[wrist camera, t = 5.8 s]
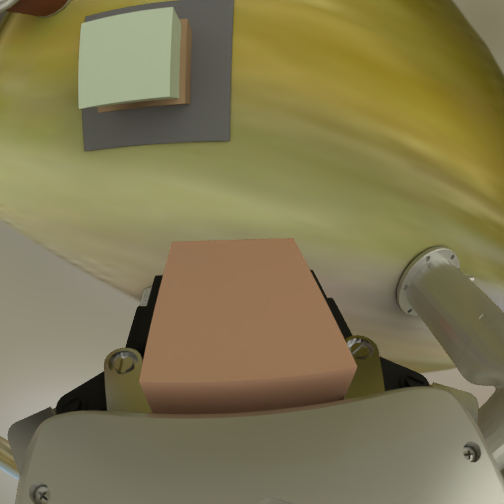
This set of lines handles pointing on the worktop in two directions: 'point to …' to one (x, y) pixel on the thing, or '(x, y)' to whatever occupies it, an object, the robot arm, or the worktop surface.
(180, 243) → the block pick
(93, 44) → the block top
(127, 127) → the mat
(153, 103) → the block bottom
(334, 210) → the worktop surface
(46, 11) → the coffee cup
